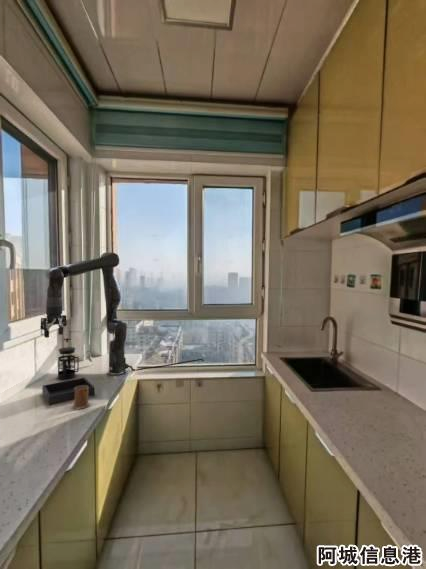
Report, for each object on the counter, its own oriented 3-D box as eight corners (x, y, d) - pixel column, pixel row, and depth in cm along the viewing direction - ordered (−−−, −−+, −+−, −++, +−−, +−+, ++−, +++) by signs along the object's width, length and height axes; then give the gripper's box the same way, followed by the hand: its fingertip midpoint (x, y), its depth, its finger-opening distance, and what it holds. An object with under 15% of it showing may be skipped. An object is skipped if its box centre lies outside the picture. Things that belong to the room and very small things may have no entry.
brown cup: (86, 402, 135) (86, 383, 135) (89, 407, 130) (90, 387, 130) (72, 406, 131) (72, 386, 131) (75, 410, 126) (76, 390, 126)
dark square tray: (84, 386, 155) (84, 377, 155) (94, 396, 142) (94, 386, 142) (42, 395, 142) (42, 385, 142) (48, 407, 129) (48, 396, 129)
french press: (53, 380, 162) (54, 340, 162) (59, 375, 171) (59, 337, 171) (76, 379, 165) (76, 340, 164) (80, 374, 174) (80, 336, 173)
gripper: (48, 307, 142) (47, 339, 142) (70, 304, 156) (70, 334, 156) (36, 306, 144) (36, 337, 145) (59, 304, 158) (59, 333, 158)
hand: (53, 335), depth 150 cm, fingers open, 8 cm apart
